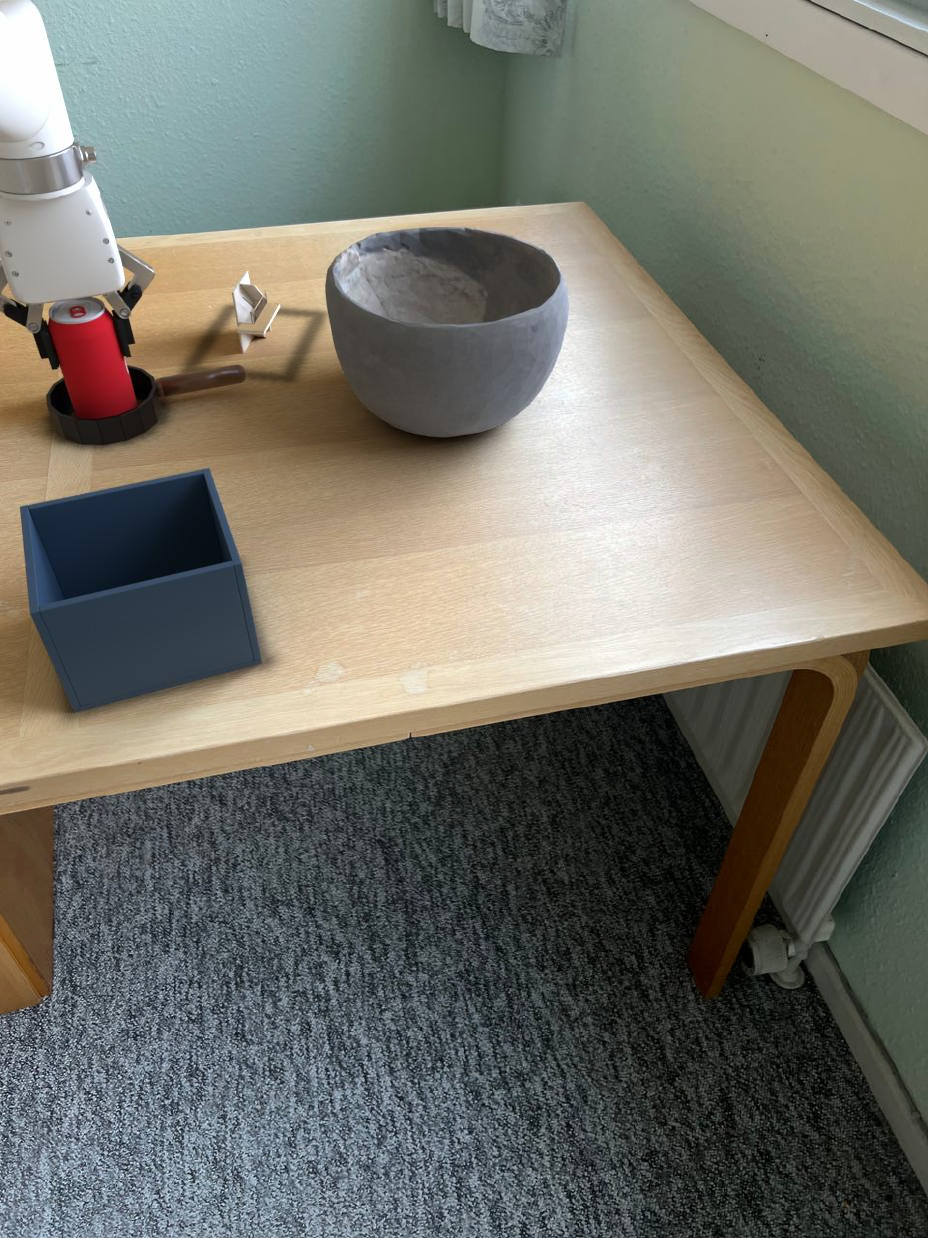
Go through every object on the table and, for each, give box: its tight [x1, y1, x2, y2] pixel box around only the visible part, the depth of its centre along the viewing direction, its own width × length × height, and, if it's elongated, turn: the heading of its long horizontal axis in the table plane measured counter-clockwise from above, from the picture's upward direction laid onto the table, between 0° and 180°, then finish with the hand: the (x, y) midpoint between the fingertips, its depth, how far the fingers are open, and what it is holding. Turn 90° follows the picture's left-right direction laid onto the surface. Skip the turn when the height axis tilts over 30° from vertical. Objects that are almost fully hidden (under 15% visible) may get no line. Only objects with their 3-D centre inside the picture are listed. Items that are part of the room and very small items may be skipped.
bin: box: [19, 467, 263, 714], centre depth 71 cm, size 14×12×11 cm
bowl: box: [324, 226, 570, 438], centre depth 94 cm, size 24×24×15 cm
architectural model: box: [231, 270, 281, 354], centre depth 105 cm, size 3×7×7 cm, turn 173°
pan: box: [45, 364, 248, 446], centre depth 97 cm, size 20×11×3 cm, turn 112°
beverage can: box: [47, 296, 139, 419], centre depth 92 cm, size 6×6×12 cm
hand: (90, 355), depth 92 cm, fingers closed on beverage can, 6 cm apart
